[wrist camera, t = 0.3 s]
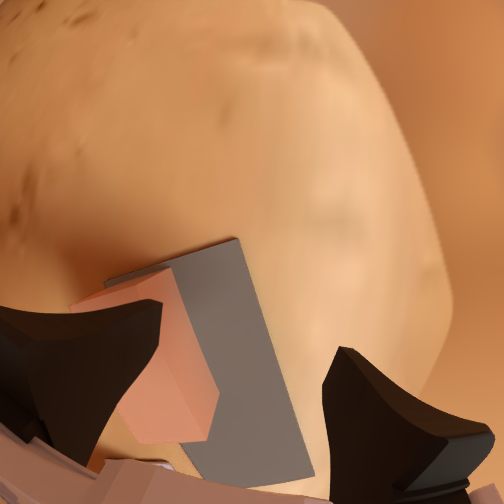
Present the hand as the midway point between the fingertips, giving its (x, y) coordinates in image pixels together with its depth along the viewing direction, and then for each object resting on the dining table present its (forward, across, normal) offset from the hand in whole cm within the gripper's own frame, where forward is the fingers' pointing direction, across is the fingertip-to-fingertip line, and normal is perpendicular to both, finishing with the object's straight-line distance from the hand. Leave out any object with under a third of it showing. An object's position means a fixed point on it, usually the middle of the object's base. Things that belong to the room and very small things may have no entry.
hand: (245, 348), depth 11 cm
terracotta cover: (+9, +6, +7) cm, 13 cm away
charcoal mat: (+9, +1, +12) cm, 15 cm away
